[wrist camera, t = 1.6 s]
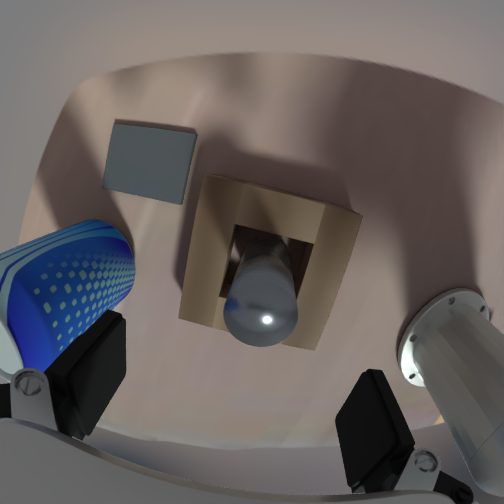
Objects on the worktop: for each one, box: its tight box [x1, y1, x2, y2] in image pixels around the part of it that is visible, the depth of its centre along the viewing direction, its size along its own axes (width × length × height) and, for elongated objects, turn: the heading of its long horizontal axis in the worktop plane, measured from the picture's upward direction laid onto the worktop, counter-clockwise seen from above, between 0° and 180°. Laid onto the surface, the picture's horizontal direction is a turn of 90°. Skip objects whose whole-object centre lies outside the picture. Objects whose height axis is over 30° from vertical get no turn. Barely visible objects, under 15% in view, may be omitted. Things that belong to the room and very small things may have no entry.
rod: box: [223, 237, 298, 347], centre depth 20 cm, size 4×4×10 cm
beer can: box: [0, 220, 136, 382], centre depth 18 cm, size 8×8×16 cm
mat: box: [102, 124, 197, 205], centre depth 23 cm, size 8×6×1 cm
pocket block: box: [179, 174, 363, 351], centre depth 23 cm, size 12×12×3 cm
